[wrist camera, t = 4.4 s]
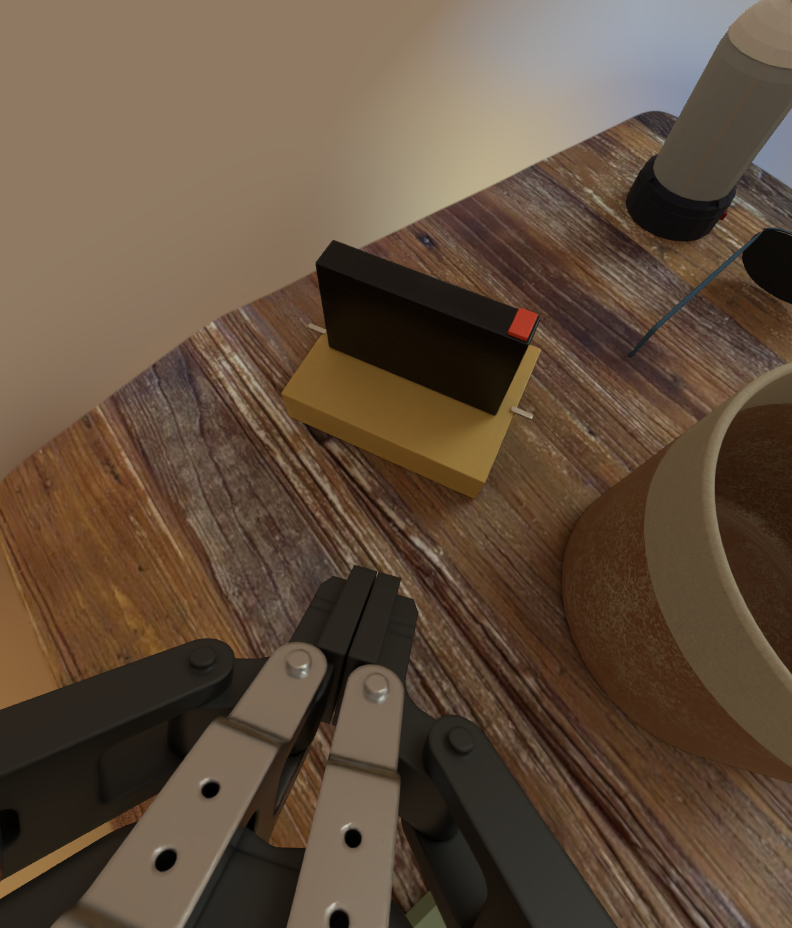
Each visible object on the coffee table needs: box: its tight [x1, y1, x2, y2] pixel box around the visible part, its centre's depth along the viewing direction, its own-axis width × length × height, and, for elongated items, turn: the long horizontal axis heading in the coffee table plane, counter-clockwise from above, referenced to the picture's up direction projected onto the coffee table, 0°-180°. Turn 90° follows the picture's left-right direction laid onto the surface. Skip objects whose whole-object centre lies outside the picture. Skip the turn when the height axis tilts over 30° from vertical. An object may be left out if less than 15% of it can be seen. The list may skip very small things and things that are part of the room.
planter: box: [562, 362, 792, 783], centre depth 21 cm, size 16×16×14 cm
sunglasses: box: [630, 228, 792, 357], centre depth 33 cm, size 17×15×5 cm
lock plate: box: [281, 323, 541, 499], centre depth 31 cm, size 16×11×3 cm
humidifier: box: [626, 0, 792, 241], centre depth 30 cm, size 8×8×25 cm
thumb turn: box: [316, 240, 540, 416], centre depth 26 cm, size 12×2×7 cm, turn 65°
